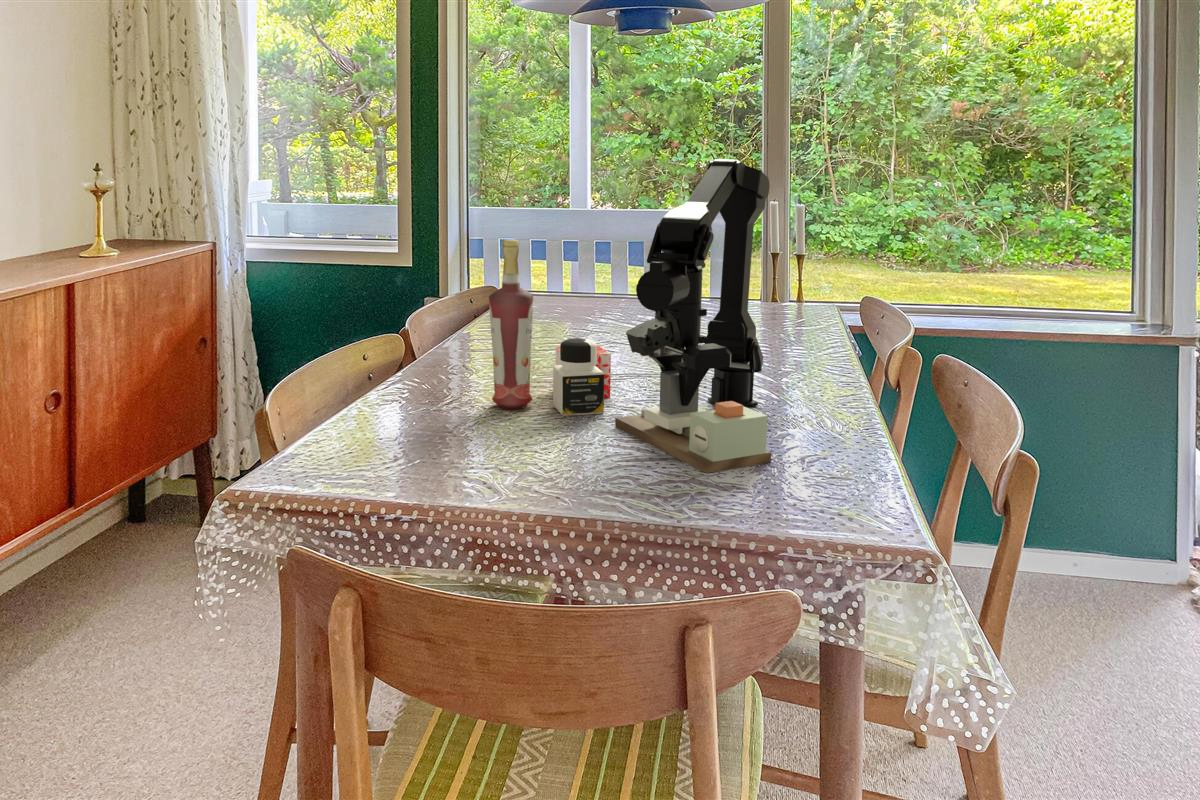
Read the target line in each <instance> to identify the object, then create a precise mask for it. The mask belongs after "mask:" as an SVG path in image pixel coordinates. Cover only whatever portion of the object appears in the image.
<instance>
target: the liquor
mask: <svg viewBox="0 0 1200 800" xmlns="http://www.w3.org/2000/svg"><path fill="white" fill-rule="evenodd" d="M501 243H502V254H503V270H502V271H503V272H502V281H501V282H502V283H501V287H500V288H499V289H495V290H494V291H493V292H492V293H491V294H490V295H489V296H488V301H489V302H488V303H489V304H488V305H489V317H490V318H489V321H490V335H491V348H492V361H493V362H492V363H493V387H494V394H493V396H492V398H491V400H492V402H493V403H495V404H496V405H497V406H498V407H499V408H500V409H502V410H512V411H513V410H520V409H521V410H522V409H524V408H525V407H527V406H528V405H529V404H530V403H531V402H532V401H533V397H532V395H531V393H530V392H531V357H532V356H531V355H532V353H531V351H532V336H533V311H534V310H533V308H534V295H533V294H532V293H530V292H529V291H528V290H527V289H524V288H521V282H520V281H521V280H520V273H519V262H518V257H519V251H520V248H519V246H520V245H519V244H520V243H519V240H518V239H504V240H502V241H501Z"/></svg>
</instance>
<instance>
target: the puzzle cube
mask: <svg viewBox="0 0 1200 800" xmlns="http://www.w3.org/2000/svg"><path fill="white" fill-rule="evenodd" d="M611 357H612V354H611V352H609V351H607V350H606V349H604V348H603V347H601V346H599V345H598V344H597V359H596V365H595V366H596V367H597V368H599V369H600V370H601V371H602V372H603V373H604V399H605V398H611V375H612V374H611V369H612V368H611V364H612V363H611V362H612V361H611V359H612V358H611ZM555 365H561V364H560V347H559V346H557V347H555Z"/></svg>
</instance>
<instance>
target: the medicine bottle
mask: <svg viewBox="0 0 1200 800" xmlns="http://www.w3.org/2000/svg"><path fill="white" fill-rule="evenodd" d="M597 345H598V344H597V343H596V342H595V341H594V340H592V339H589V338H582V337H579V338H578V337H577V338H576V337H575V338H574V337H573V338H567V339H565V340H563V341H561V343H560V344H559V346H560V364H561V365H556V364H555V365H554V366H553V367H552V405H553V407H554V408H555V409H556V410H557V411H558V412H559V413H560V415H562V416H563V417H570V416H585V415H602V414H603V415H604V411H605V407H604V406H605V403H604V402H605V398H604V373H603V372H602V371H601V370H600V369H599V368H597V367H596V366H595V365H596V359H597Z"/></svg>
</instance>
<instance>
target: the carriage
mask: <svg viewBox="0 0 1200 800" xmlns="http://www.w3.org/2000/svg"><path fill="white" fill-rule="evenodd" d="M659 378H660V379H659V406H653V407H645V408H643V409H644V419H646V420H649V421H651V422H653V423H655V424H657V425H659V426H661V427H663V428H666V429H668V430H671V431H674V432H676V433H678V434H682V428H684V427H690V413H695V412H702V411H708V410H707V409H705V408H702V407H700V406H699V393H700V391H699V387H700V385H699V386H698V388H697V390H696V392H695V394H694V396H693V398H692V400H691V402H690V403H689V405H688V406H682V405H681V398H680V384H679V373H678V371H677V370H673V371H664V372H661V371H660V377H659Z"/></svg>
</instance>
